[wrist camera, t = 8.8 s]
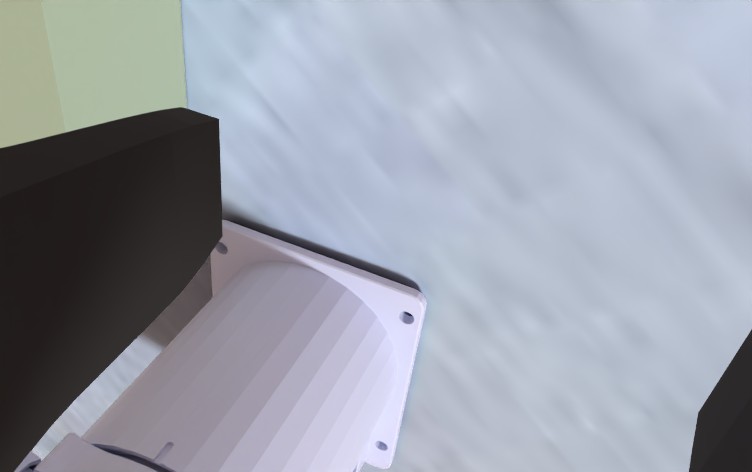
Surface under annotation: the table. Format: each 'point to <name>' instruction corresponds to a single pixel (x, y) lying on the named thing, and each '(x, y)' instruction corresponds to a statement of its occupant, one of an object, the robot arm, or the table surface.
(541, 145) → the table surface
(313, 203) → the table surface
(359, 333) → the robot arm
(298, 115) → the table surface
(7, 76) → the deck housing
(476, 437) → the table surface
